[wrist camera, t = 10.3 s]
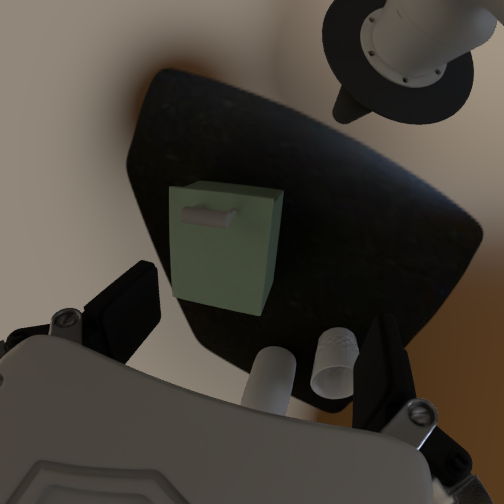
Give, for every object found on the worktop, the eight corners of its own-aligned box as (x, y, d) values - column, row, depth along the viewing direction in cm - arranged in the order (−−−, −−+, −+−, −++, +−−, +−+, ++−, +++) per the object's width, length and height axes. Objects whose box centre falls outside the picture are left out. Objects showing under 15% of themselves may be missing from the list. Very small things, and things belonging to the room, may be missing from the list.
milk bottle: (253, 344, 52) (219, 431, 34) (295, 344, 49) (274, 438, 32) (259, 372, 54) (231, 456, 36) (298, 373, 52) (280, 461, 34)
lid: (171, 186, 34) (149, 194, 29) (274, 197, 31) (265, 208, 27) (174, 294, 40) (157, 313, 35) (261, 313, 38) (252, 337, 33)
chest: (199, 180, 42) (171, 192, 34) (283, 190, 40) (273, 204, 32) (198, 267, 48) (174, 294, 40) (273, 281, 46) (261, 313, 38)
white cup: (319, 360, 50) (315, 401, 41) (311, 327, 47) (305, 369, 38) (361, 354, 47) (364, 395, 38) (356, 320, 45) (360, 361, 36)
